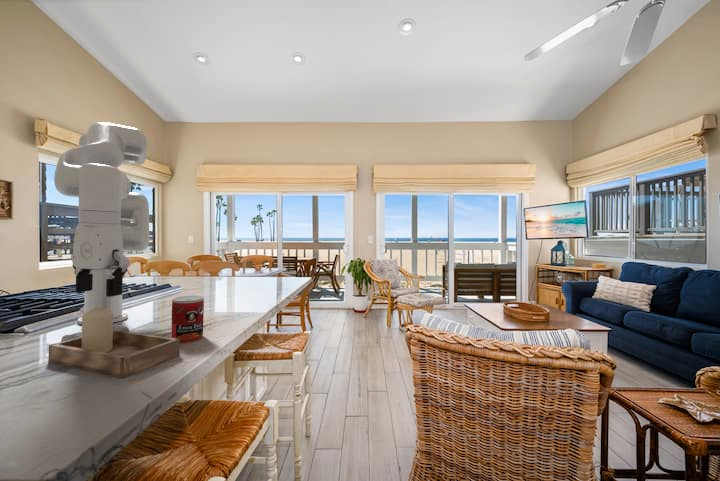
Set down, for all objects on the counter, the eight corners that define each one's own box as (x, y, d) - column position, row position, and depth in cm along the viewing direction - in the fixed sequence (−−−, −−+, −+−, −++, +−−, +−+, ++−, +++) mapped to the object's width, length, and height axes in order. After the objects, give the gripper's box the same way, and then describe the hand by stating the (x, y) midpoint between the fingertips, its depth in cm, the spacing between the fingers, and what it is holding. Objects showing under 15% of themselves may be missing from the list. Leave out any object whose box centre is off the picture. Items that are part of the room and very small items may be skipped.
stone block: (55, 357, 77) (88, 352, 75) (53, 336, 77) (86, 331, 75) (103, 343, 89) (133, 339, 87) (101, 325, 89) (131, 321, 87)
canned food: (174, 345, 81) (175, 302, 81) (168, 337, 87) (169, 297, 87) (206, 339, 86) (207, 298, 86) (198, 332, 92) (199, 294, 92)
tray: (48, 362, 69) (48, 345, 69) (111, 344, 81) (111, 329, 81) (123, 378, 62) (124, 358, 62) (179, 355, 74) (179, 339, 74)
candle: (86, 349, 75) (87, 306, 75) (115, 346, 77) (116, 305, 77) (77, 357, 70) (78, 311, 70) (108, 354, 72) (109, 310, 72)
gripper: (55, 217, 72) (54, 292, 73) (110, 220, 67) (108, 300, 68) (91, 218, 79) (90, 287, 80) (144, 221, 74) (142, 294, 75)
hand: (98, 293), depth 74 cm, fingers open, 9 cm apart
